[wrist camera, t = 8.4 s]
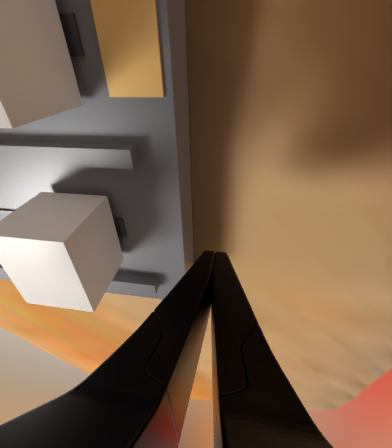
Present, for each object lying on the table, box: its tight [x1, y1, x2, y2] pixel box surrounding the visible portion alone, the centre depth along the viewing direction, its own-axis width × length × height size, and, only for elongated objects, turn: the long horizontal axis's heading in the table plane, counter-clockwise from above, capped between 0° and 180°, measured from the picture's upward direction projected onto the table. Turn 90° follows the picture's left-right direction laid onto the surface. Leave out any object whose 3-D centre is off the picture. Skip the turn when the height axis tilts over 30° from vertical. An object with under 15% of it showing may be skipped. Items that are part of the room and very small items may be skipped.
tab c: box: [0, 192, 124, 312], centre depth 10 cm, size 3×4×3 cm
